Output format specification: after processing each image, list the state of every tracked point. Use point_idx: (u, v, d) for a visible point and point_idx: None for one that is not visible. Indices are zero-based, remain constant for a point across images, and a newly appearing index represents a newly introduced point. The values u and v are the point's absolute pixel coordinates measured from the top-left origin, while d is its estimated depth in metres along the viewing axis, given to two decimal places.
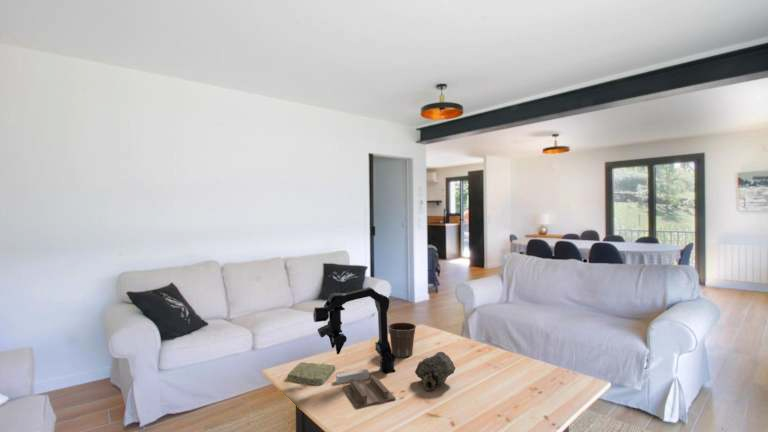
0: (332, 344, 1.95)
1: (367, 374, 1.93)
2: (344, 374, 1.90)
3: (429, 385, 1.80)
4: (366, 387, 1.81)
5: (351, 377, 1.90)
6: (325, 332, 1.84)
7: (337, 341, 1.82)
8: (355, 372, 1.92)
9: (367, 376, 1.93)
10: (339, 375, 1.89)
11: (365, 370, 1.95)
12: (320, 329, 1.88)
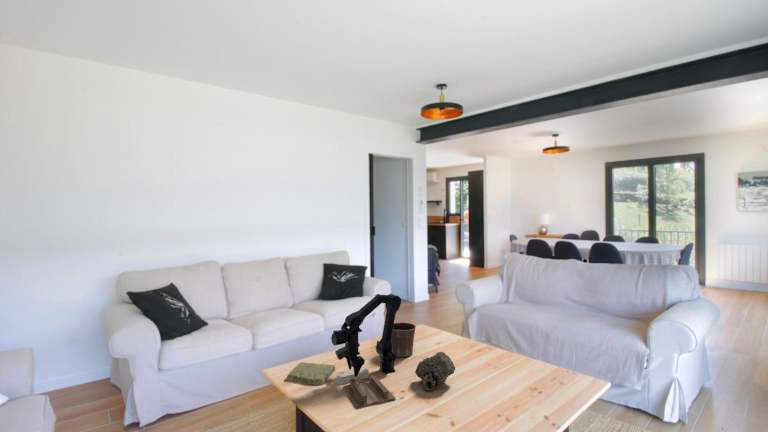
0: (349, 365, 1.96)
1: (367, 373, 1.94)
2: (344, 374, 1.89)
3: (429, 385, 1.80)
4: (366, 387, 1.81)
5: (351, 378, 1.90)
6: (343, 355, 1.85)
7: (355, 364, 1.82)
8: None
9: (367, 375, 1.94)
10: (340, 376, 1.88)
11: (364, 369, 1.95)
12: (338, 351, 1.89)
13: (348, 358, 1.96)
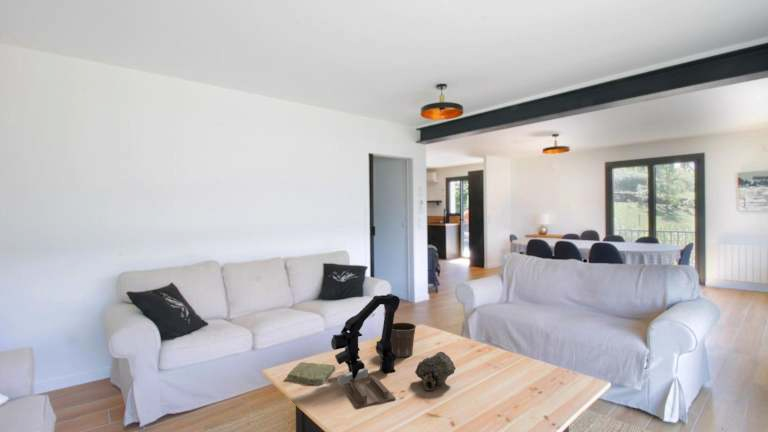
0: None
1: (366, 372, 1.95)
2: (345, 375, 1.89)
3: (429, 385, 1.80)
4: (366, 387, 1.81)
5: (352, 377, 1.90)
6: (343, 359, 1.85)
7: (355, 368, 1.82)
8: None
9: (366, 374, 1.95)
10: (340, 376, 1.87)
11: (364, 369, 1.96)
12: (338, 356, 1.89)
13: (349, 364, 1.93)
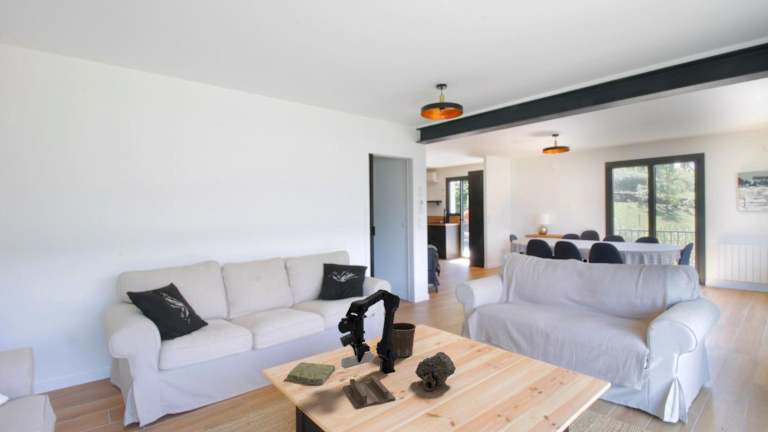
0: None
1: (372, 356, 1.89)
2: (350, 358, 1.83)
3: (429, 385, 1.80)
4: (366, 387, 1.81)
5: (357, 361, 1.84)
6: (348, 341, 1.79)
7: (360, 351, 1.76)
8: None
9: (372, 358, 1.88)
10: (345, 359, 1.82)
11: (369, 353, 1.90)
12: (343, 338, 1.83)
13: (355, 347, 1.88)
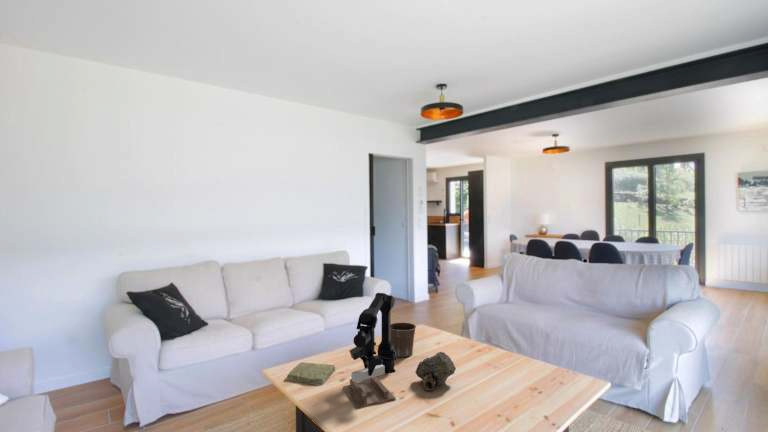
0: None
1: (383, 369, 1.80)
2: (360, 371, 1.74)
3: (429, 385, 1.80)
4: (366, 387, 1.81)
5: (367, 374, 1.75)
6: (359, 354, 1.70)
7: (372, 365, 1.67)
8: None
9: (383, 371, 1.79)
10: (355, 372, 1.73)
11: (380, 365, 1.81)
12: (352, 351, 1.74)
13: (365, 360, 1.78)
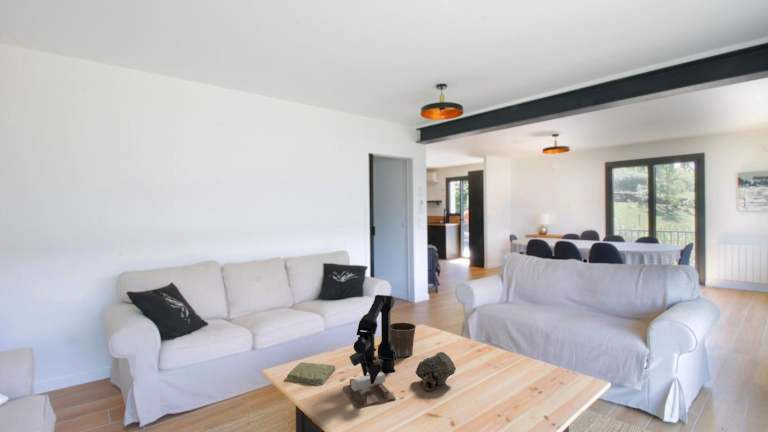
0: (364, 372, 1.81)
1: (383, 377, 1.79)
2: (360, 379, 1.74)
3: (429, 385, 1.80)
4: None
5: (367, 382, 1.75)
6: (359, 360, 1.70)
7: (372, 371, 1.67)
8: None
9: (383, 380, 1.79)
10: (355, 381, 1.73)
11: (380, 373, 1.80)
12: (353, 356, 1.74)
13: (363, 364, 1.81)
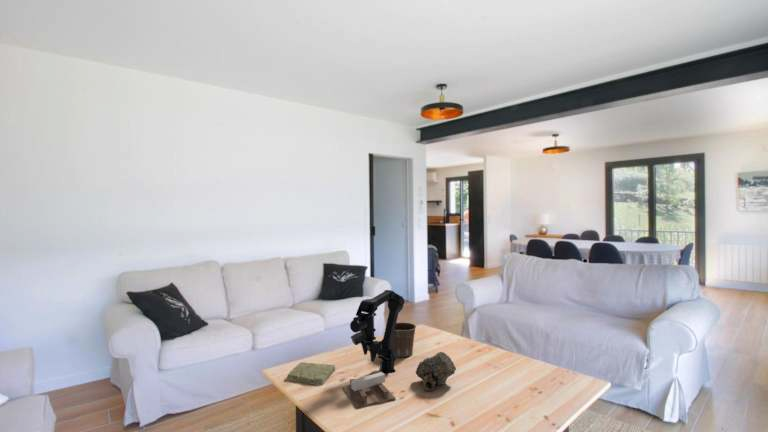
0: (365, 351, 1.93)
1: (383, 377, 1.79)
2: (360, 379, 1.74)
3: (429, 385, 1.80)
4: None
5: (367, 382, 1.75)
6: (360, 340, 1.82)
7: (373, 349, 1.80)
8: (371, 376, 1.77)
9: (383, 380, 1.79)
10: (355, 381, 1.73)
11: (380, 373, 1.80)
12: (354, 337, 1.86)
13: (363, 343, 1.93)
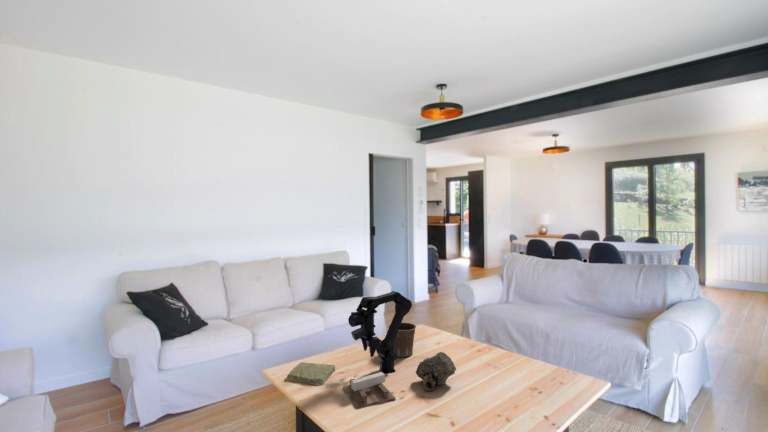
0: (364, 347, 1.98)
1: (383, 377, 1.79)
2: (360, 379, 1.74)
3: (429, 385, 1.80)
4: None
5: (367, 382, 1.75)
6: (359, 335, 1.87)
7: (372, 344, 1.84)
8: (371, 376, 1.77)
9: (383, 380, 1.79)
10: (355, 381, 1.73)
11: (380, 373, 1.80)
12: (354, 332, 1.91)
13: (363, 339, 1.98)
